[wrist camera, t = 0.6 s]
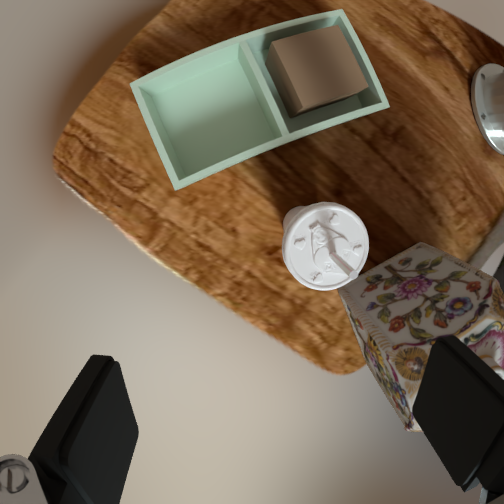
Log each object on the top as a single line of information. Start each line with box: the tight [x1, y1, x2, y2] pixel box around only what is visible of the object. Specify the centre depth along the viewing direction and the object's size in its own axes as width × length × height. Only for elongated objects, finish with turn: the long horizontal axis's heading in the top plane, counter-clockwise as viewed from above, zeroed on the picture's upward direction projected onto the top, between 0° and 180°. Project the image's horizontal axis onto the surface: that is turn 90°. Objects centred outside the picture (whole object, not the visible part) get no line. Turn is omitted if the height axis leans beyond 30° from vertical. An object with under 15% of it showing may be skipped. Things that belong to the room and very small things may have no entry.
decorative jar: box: [338, 242, 504, 432], centre depth 26 cm, size 12×12×18 cm
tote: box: [130, 9, 390, 191], centre depth 25 cm, size 20×10×5 cm, turn 113°
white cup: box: [282, 202, 369, 290], centre depth 25 cm, size 6×6×14 cm
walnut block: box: [265, 25, 369, 118], centre depth 24 cm, size 6×6×6 cm
